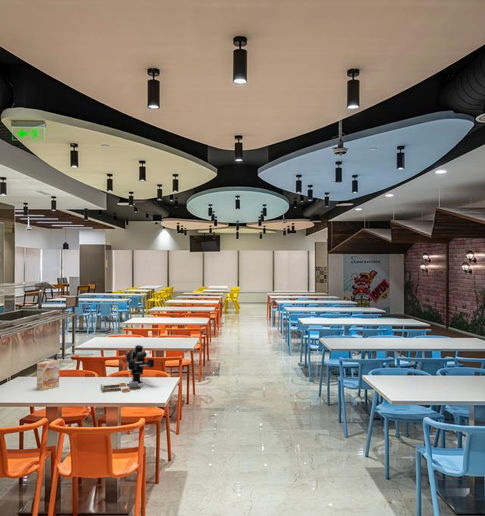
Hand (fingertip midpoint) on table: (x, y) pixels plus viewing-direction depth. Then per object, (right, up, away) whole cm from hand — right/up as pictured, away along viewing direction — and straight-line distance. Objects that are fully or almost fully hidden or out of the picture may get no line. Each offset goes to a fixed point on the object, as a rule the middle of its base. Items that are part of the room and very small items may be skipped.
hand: (143, 368), depth 354 cm
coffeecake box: (-71, -16, +4) cm, 73 cm away
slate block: (-8, -16, +5) cm, 19 cm away
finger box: (-17, -16, +1) cm, 24 cm away
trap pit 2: (-11, -15, -6) cm, 20 cm away
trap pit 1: (-18, -16, +11) cm, 26 cm away
